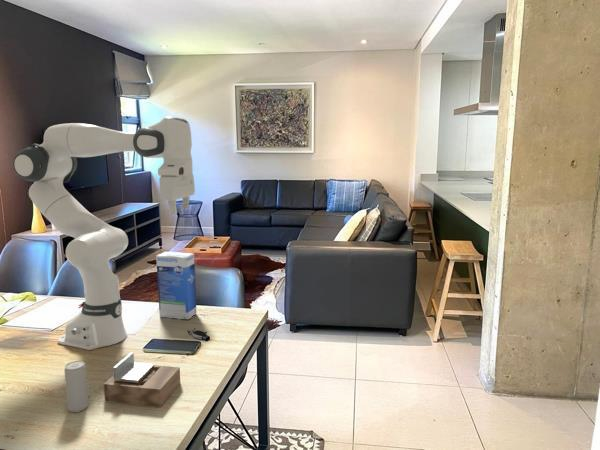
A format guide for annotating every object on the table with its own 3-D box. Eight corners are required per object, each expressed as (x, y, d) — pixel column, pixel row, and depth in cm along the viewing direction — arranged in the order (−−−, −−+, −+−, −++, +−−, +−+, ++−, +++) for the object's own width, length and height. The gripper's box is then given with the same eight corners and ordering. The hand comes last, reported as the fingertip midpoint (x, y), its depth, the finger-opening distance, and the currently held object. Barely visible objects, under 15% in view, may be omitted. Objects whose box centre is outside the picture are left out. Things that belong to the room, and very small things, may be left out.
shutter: (113, 380, 118) (112, 367, 117) (131, 364, 127) (130, 352, 126) (138, 383, 117) (137, 369, 116) (154, 366, 125) (153, 354, 125)
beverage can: (72, 402, 117) (69, 360, 115) (91, 402, 117) (88, 360, 115) (64, 413, 112) (60, 369, 110) (84, 412, 112) (80, 369, 110)
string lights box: (197, 314, 180) (195, 253, 176) (188, 321, 173) (186, 257, 168) (168, 311, 183) (165, 251, 179) (158, 317, 176) (155, 255, 171)
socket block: (105, 401, 117) (103, 383, 117) (129, 378, 129) (128, 362, 128) (161, 407, 115) (160, 389, 114) (180, 383, 127) (179, 367, 126)
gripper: (181, 167, 151) (182, 207, 153) (155, 170, 131) (157, 215, 133) (198, 167, 150) (199, 207, 152) (175, 170, 130) (177, 216, 132)
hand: (179, 211), depth 142 cm, fingers open, 8 cm apart
